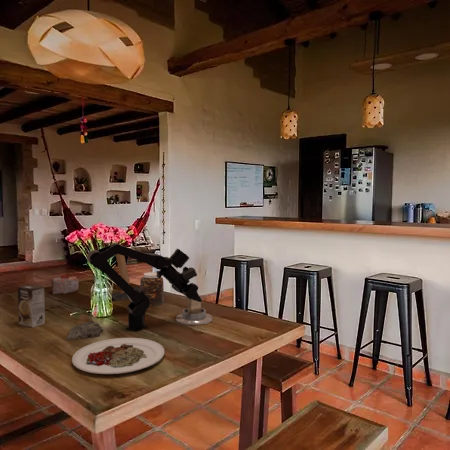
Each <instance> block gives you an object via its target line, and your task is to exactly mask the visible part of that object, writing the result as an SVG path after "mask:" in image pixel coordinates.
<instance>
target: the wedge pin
mask: <svg viewBox="0 0 450 450" xmlns="http://www.w3.org/2000/svg"><path fill="white" fill-rule="evenodd" d="M187 308H188V313H201V308H202V301H201V302H198V301H195V300H192V299H189V298H187Z"/></svg>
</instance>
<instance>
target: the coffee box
mask: <svg viewBox="0 0 450 450" xmlns="http://www.w3.org/2000/svg"><path fill="white" fill-rule="evenodd" d="M17 303H18V305H17V307H18V310H17V311H18V313H17V315H18V325H21V326H24V327H27V328H28V327H29V328H35V327H38V326H42V325H45V322H46V321H45V318H46V317H45V314H46V313H45V286H42V285H35V284H31V283H30V284H25V285H21V286H19V285H18V286H17Z"/></svg>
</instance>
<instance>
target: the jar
mask: <svg viewBox="0 0 450 450" xmlns="http://www.w3.org/2000/svg"><path fill="white" fill-rule="evenodd" d="M156 275H157V272H152V271H149V272H144V273H143V276H142V277H141V278H140V281H139V282H140V283H139V284H140V285H139V287H140V289H141V290H142V291H143V292H144V294H146V295H147V296H148V297H149V298H148V299H149V301H150V305H149V307H157V306H161V305H163V304H164V302H165V301H164V290H165V289H164V278H163V276H161V278H158V277H157V276H156Z"/></svg>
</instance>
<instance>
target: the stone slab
mask: <svg viewBox="0 0 450 450" xmlns="http://www.w3.org/2000/svg"><path fill="white" fill-rule="evenodd" d="M103 331H104V330H103V327H102V326H101V325H100V324H99V323H97V322H95V321H94V320H91V321H88V322H87V321H86V322H84V323H81V324H77V325H76V326H73V327H71V328H70V329H69V333H67V335H66V336H67V337H65V338H66V341H75V340H74V339H76V340H83V339H88V338H89V337H90V338H91V339H92V338H98V337H101V333H102V332H103ZM79 338H80V339H79Z"/></svg>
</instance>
